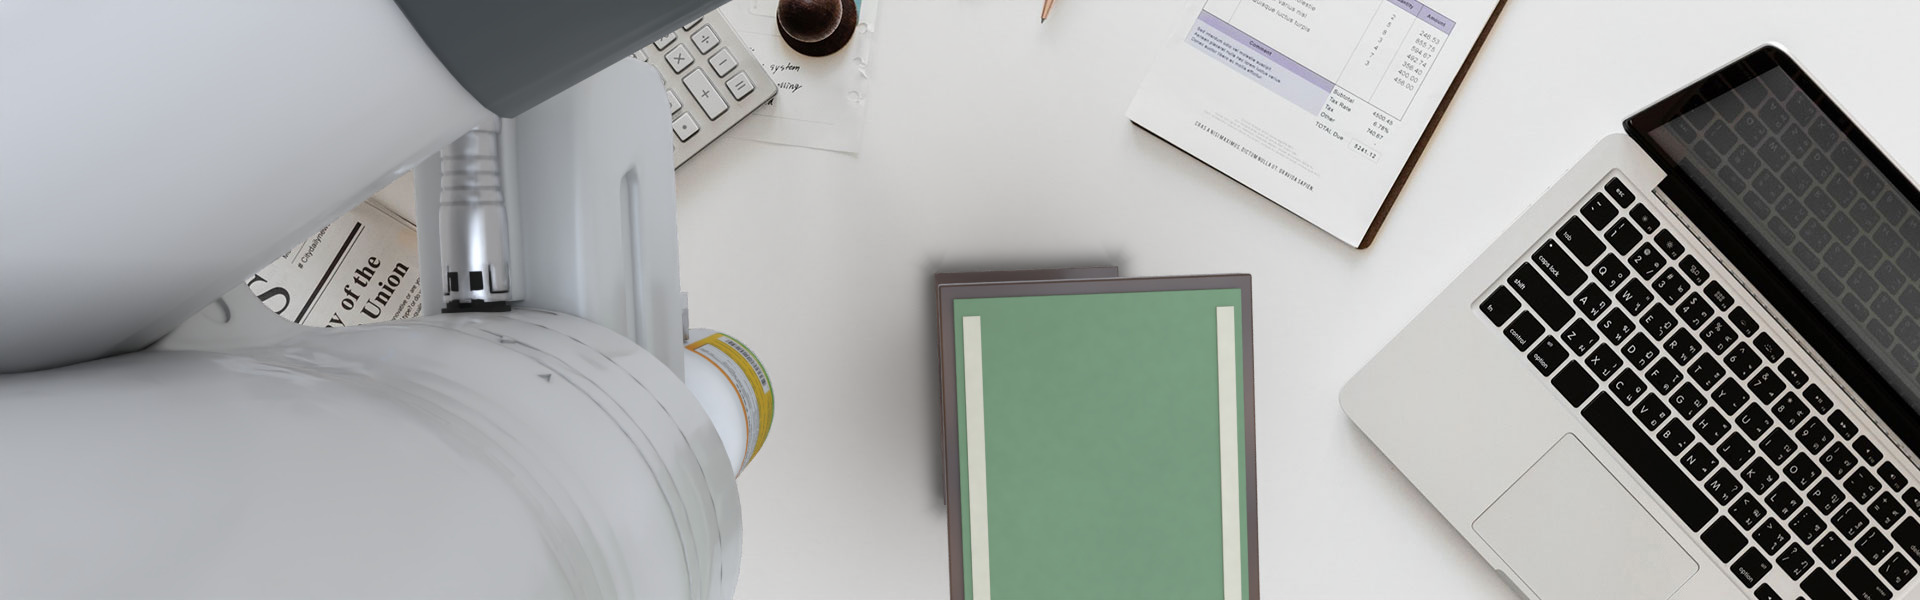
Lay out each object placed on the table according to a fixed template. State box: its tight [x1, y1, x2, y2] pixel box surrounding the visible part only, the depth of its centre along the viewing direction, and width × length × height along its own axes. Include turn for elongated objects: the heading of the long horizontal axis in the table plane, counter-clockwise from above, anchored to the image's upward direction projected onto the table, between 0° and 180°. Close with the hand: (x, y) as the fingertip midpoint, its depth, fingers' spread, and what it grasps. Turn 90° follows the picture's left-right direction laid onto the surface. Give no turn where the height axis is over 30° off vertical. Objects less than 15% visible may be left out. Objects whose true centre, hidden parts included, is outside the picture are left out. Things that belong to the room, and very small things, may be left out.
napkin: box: [953, 288, 1249, 600], centre depth 37 cm, size 13×10×1 cm
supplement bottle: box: [683, 327, 776, 480], centre depth 32 cm, size 5×5×10 cm
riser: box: [934, 265, 1261, 600], centre depth 51 cm, size 14×11×28 cm
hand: (668, 426), depth 33 cm, fingers closed on supplement bottle, 5 cm apart
